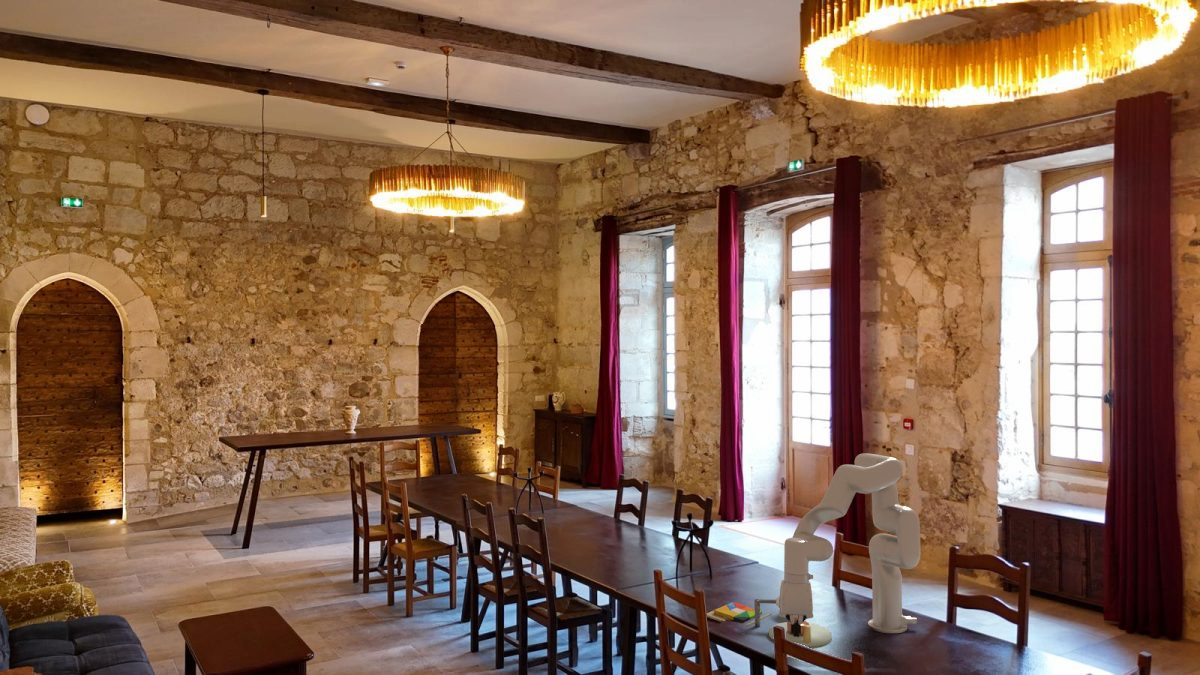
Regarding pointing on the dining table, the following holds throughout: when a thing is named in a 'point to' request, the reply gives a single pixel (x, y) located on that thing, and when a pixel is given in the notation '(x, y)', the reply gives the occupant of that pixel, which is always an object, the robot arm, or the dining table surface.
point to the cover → (795, 622)
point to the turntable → (808, 635)
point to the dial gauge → (757, 608)
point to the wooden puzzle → (735, 613)
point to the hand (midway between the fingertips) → (795, 635)
